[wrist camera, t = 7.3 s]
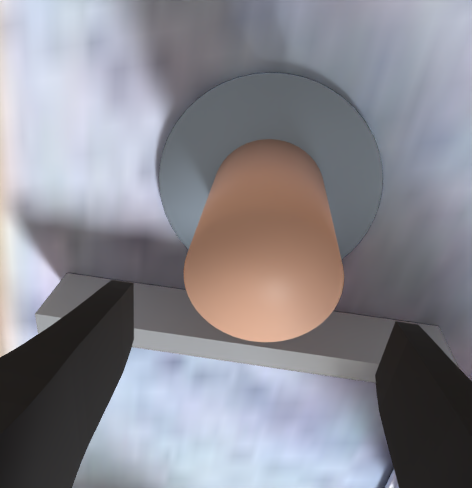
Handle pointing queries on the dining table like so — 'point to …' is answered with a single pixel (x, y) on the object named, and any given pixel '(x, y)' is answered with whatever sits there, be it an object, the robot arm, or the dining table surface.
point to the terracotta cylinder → (265, 246)
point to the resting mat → (279, 128)
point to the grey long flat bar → (235, 349)
